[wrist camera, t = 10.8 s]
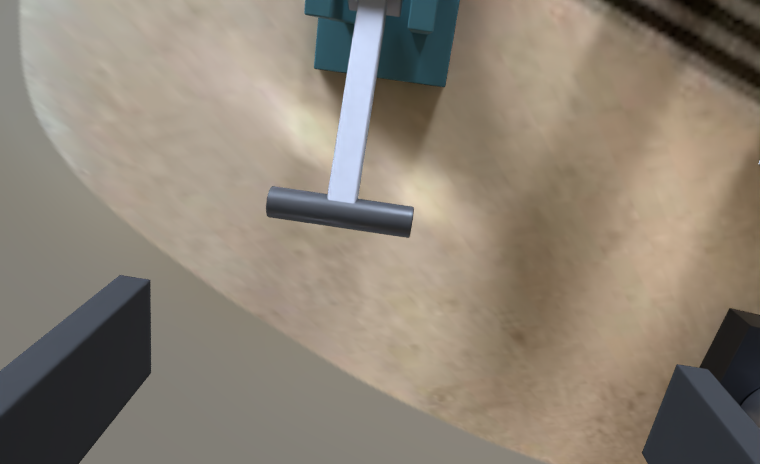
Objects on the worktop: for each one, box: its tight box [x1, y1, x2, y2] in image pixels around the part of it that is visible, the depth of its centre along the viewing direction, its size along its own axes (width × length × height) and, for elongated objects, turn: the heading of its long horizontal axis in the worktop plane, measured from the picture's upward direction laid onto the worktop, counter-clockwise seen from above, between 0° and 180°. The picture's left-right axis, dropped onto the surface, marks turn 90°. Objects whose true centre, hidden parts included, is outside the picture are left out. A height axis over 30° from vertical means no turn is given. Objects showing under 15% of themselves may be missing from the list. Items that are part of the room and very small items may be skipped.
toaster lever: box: [266, 0, 414, 238], centre depth 21 cm, size 12×6×2 cm, turn 173°
